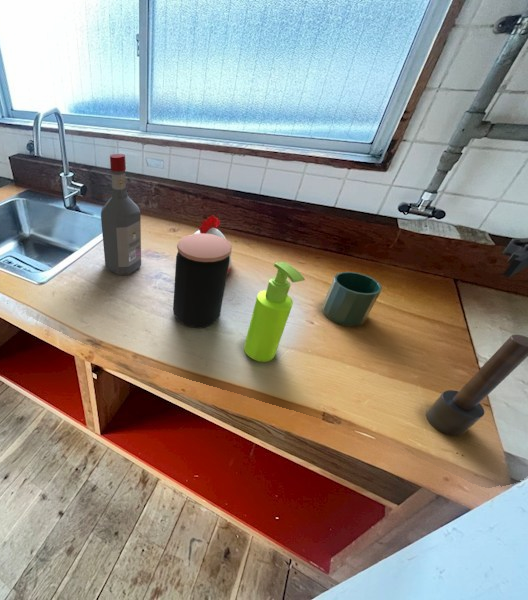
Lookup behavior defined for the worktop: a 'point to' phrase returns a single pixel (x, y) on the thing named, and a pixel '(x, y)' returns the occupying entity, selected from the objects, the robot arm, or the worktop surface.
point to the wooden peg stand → (476, 389)
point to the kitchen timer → (212, 230)
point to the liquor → (121, 224)
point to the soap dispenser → (271, 314)
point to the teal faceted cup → (350, 298)
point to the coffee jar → (200, 278)
